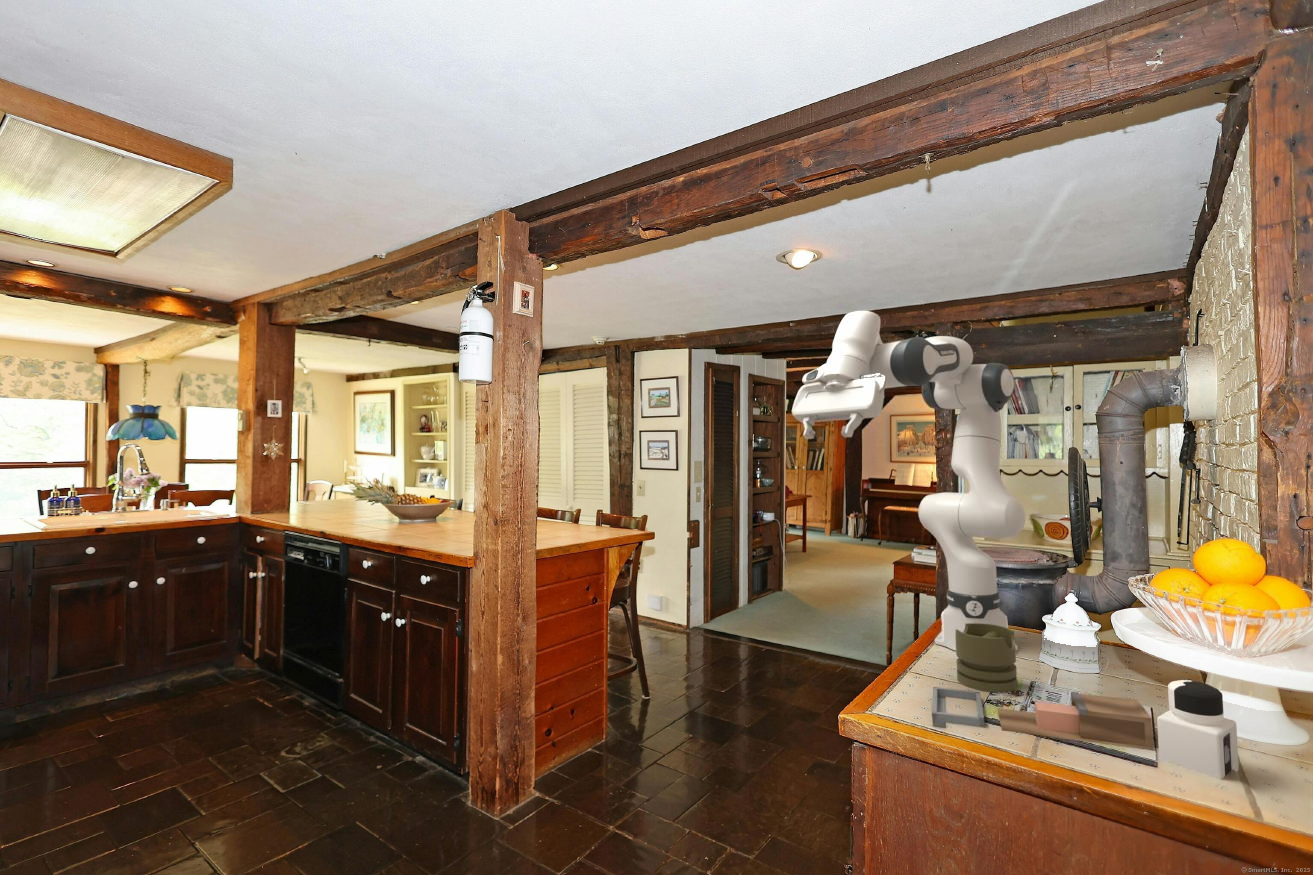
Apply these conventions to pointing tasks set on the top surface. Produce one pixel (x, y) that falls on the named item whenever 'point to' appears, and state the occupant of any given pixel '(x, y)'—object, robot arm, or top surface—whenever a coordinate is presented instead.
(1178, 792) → the top surface
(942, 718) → the tray
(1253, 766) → the top surface
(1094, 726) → the brown slab
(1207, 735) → the container
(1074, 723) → the salmon pink rectangular prism
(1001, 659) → the piston
